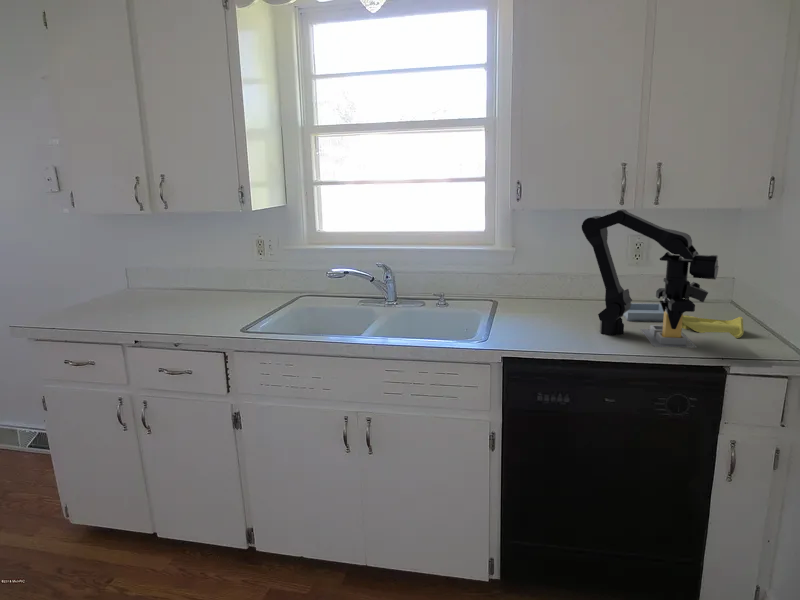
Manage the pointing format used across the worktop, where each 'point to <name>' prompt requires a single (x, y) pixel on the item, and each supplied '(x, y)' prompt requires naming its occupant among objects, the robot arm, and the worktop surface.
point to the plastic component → (714, 325)
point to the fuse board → (665, 338)
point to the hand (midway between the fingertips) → (672, 327)
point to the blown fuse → (668, 330)
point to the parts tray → (644, 312)
